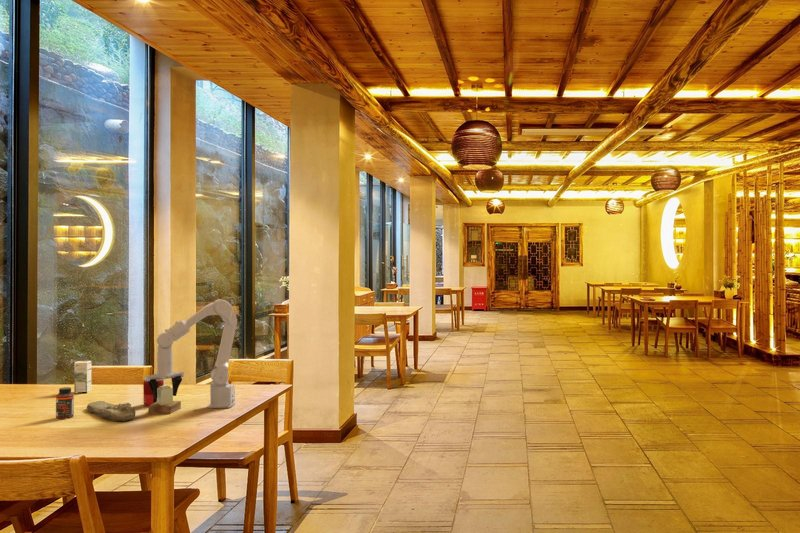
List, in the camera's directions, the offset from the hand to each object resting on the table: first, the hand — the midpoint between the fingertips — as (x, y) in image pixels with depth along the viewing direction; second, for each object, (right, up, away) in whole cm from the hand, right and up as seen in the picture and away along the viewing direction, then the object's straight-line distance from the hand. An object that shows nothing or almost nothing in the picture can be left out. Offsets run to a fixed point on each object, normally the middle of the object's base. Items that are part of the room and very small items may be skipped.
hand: (164, 397), depth 236 cm
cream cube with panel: (0, -3, 0) cm, 3 cm away
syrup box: (-54, -7, +39) cm, 67 cm away
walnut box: (0, -6, 0) cm, 6 cm away
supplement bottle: (-34, -6, -10) cm, 36 cm away
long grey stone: (-19, -6, -5) cm, 21 cm away
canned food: (-10, -6, +12) cm, 17 cm away
